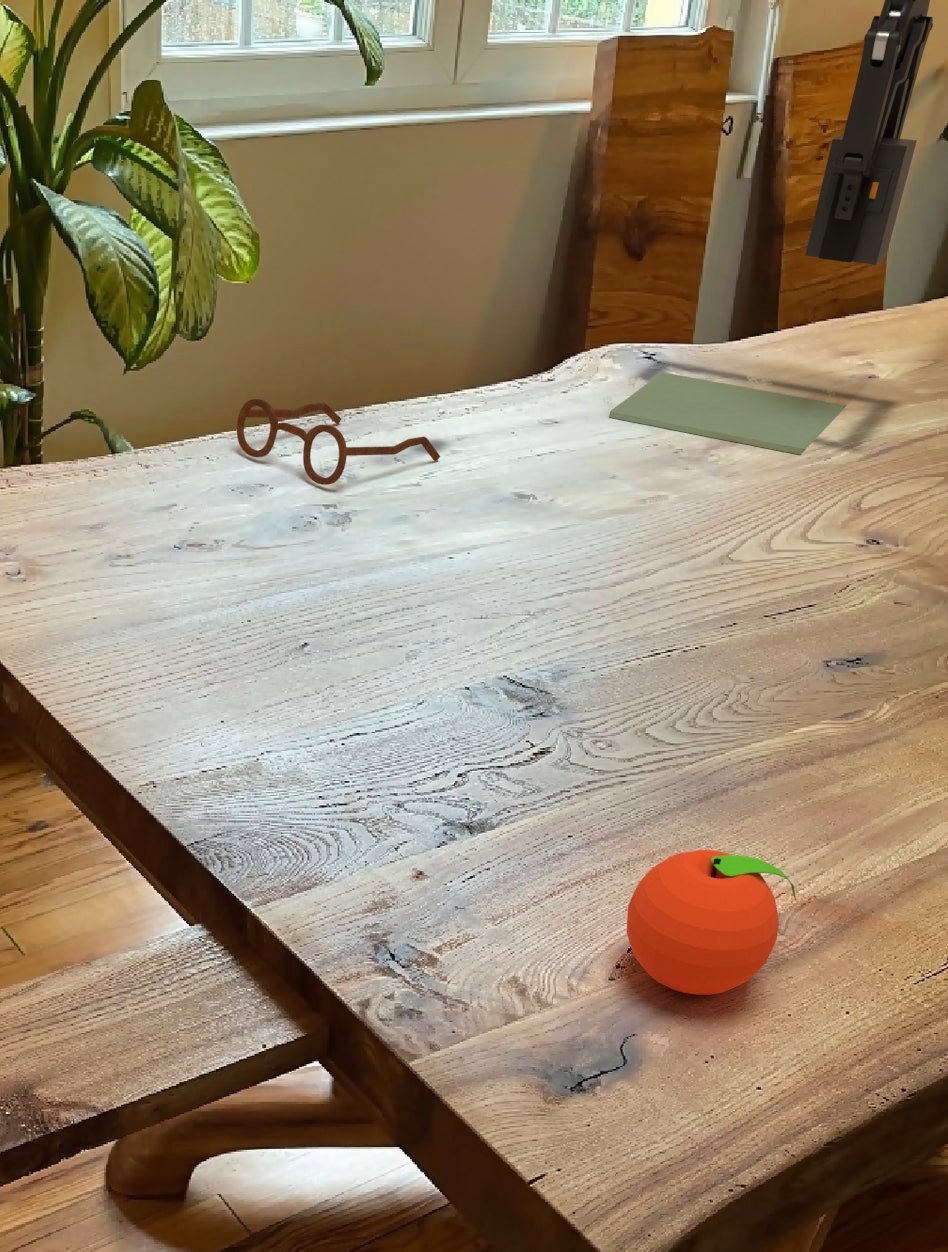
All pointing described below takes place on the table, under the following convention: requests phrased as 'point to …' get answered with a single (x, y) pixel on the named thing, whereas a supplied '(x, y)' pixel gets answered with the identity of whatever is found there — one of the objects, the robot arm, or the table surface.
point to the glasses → (309, 437)
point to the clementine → (704, 920)
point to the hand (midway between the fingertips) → (842, 253)
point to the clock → (880, 205)
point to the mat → (729, 412)
